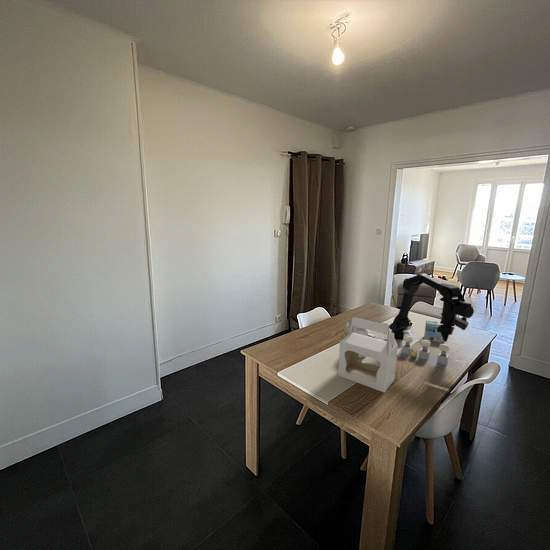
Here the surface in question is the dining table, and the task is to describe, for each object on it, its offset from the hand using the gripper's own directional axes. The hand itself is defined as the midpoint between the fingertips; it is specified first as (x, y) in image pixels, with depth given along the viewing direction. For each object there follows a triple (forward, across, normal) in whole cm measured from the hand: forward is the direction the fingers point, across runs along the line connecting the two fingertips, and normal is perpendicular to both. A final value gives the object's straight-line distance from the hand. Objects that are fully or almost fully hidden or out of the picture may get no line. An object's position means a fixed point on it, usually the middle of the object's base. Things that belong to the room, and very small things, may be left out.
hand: (445, 341), depth 147 cm
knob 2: (+8, 0, 0) cm, 8 cm away
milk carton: (+12, -16, +37) cm, 42 cm away
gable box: (+13, -36, +26) cm, 46 cm away
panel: (+12, 0, +8) cm, 15 cm away
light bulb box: (+12, +32, +9) cm, 36 cm away
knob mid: (+8, 0, +8) cm, 12 cm away
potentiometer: (+11, -4, +13) cm, 18 cm away
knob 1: (+8, 0, +17) cm, 19 cm away
